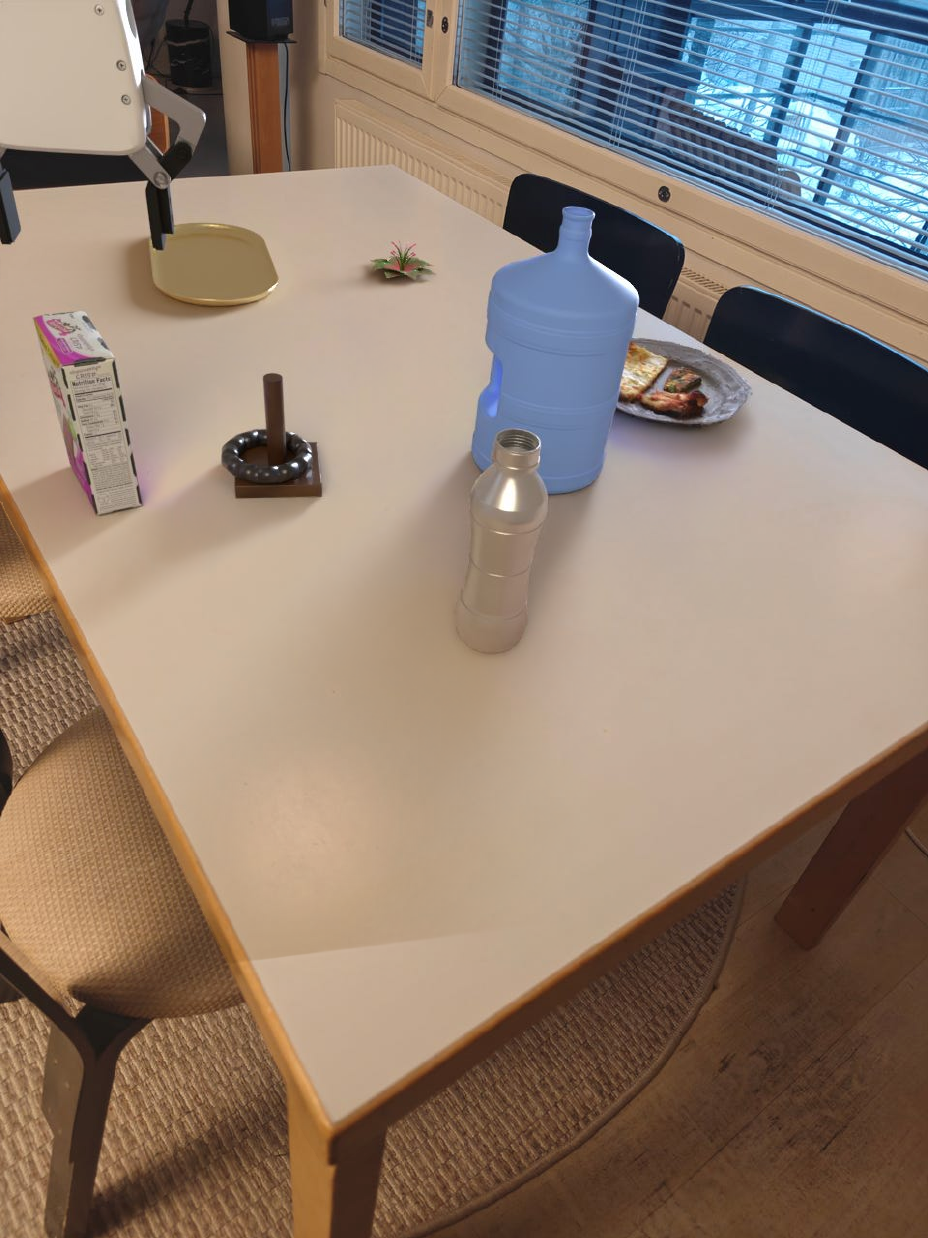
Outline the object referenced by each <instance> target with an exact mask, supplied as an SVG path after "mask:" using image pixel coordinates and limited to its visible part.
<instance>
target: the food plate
mask: <svg viewBox="0 0 928 1238" xmlns="http://www.w3.org/2000/svg"><path fill="white" fill-rule="evenodd" d="M752 395H753V387H752V386H751V385H750V383H748V381H747V379H745V378H744V377H743V376H742V375H741V374H739V372H738V371H737V370H736V369H734V368H733V366H730V365H729V364H728V363H727V362H725V361H723V360H721V359H720V358H717V357H715V356H713V355H712V354H711V353H707V352H706V351H702V350H700V349H697V348H694V347H690V346H686V345H683V344H681V343H676V342H674V341H668V340H660V339H659V340H658V339H652V338H647V337H646V338H645V337H632V339H631V341H630V344H629V348H628V353H627V357H626V362H625V366H624V370H623V375H622V379H621V383H620V394H619V398H618V403H617V406H616V409H615V410H617V411H620V412H622V413H625V414H626V415H628V416H630V417H632V418H637V419H640V420H645V421H648V422H654V423H660V424H661V423H665V424H671V425H672V424H673V425H677V426H681V427H689V426H692V427H699V429H701V427H709V426H711V425H712V424H713V423H716V424H717V425H721V424H723V423H724V422H727V421H728V420H730V419H731V418H732V417H733V416H734V415H735V413H737V411H739V410H740V409H741V407H742V406H743V404H745V403H746V401H747V400H748V398H749V397H750V396H752Z"/></svg>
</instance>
